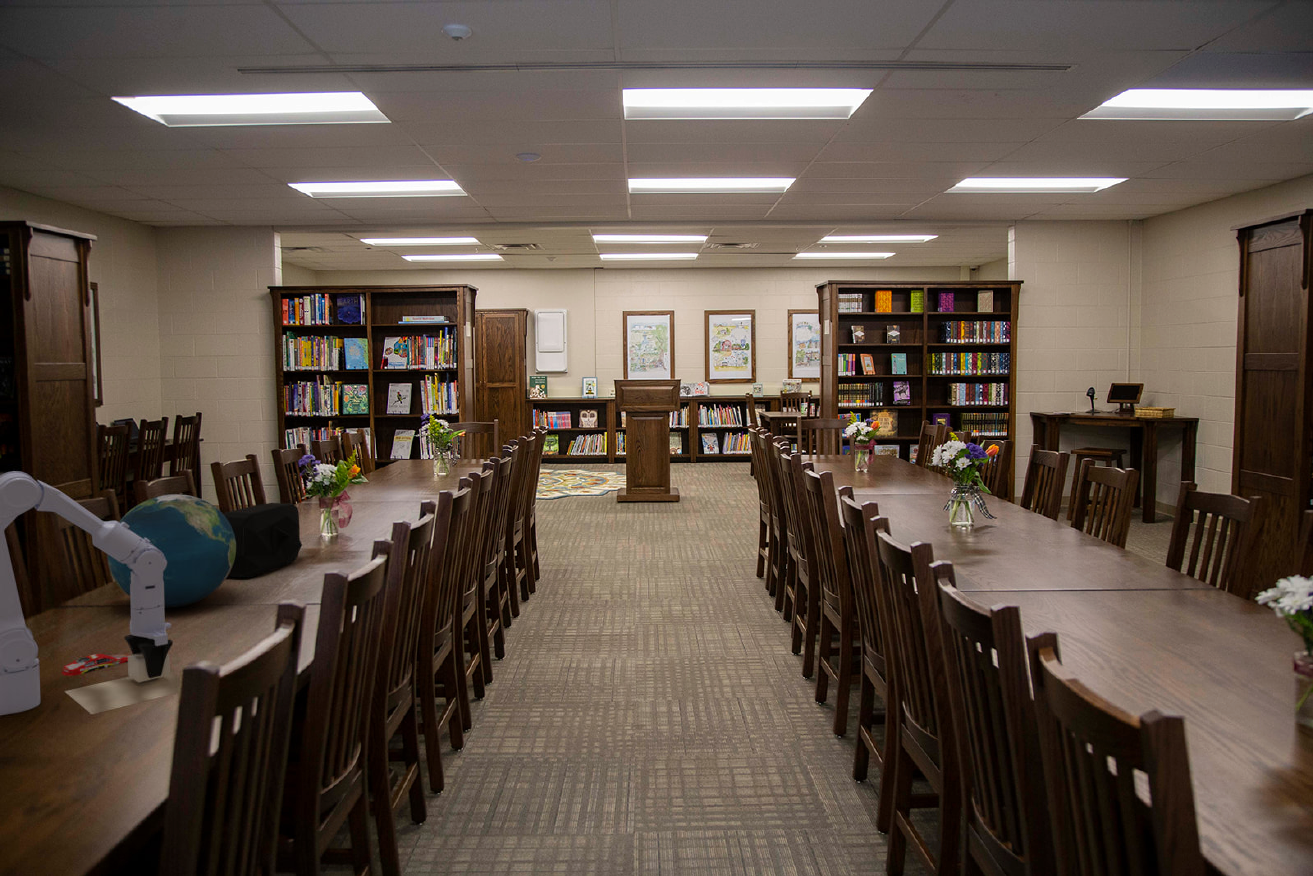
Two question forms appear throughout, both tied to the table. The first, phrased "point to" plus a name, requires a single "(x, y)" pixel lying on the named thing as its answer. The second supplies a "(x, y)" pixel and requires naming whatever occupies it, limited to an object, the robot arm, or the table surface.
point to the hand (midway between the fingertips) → (149, 672)
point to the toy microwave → (144, 668)
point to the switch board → (124, 692)
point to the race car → (93, 663)
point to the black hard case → (264, 538)
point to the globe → (182, 546)
